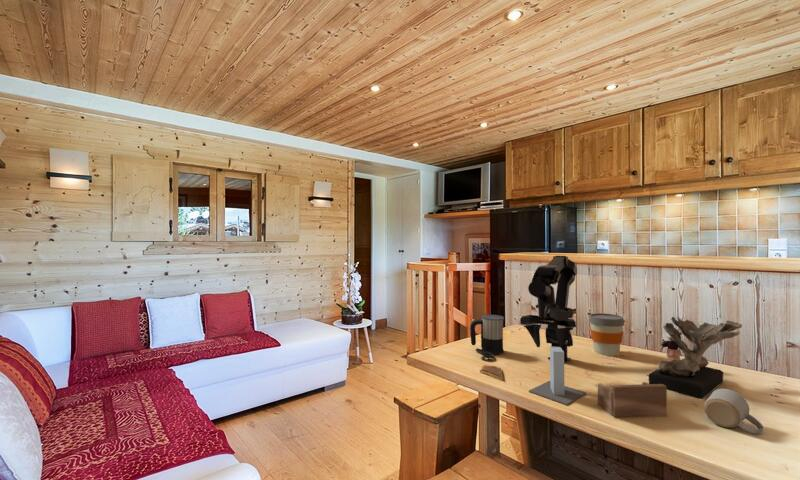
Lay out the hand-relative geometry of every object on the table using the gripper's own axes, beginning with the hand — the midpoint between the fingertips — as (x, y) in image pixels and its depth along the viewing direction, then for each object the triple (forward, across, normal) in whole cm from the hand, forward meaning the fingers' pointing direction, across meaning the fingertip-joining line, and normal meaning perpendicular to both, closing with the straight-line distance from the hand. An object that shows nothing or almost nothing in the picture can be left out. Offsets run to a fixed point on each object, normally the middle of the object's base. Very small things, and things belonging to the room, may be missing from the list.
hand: (550, 348), depth 122 cm
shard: (+10, -13, +14) cm, 21 cm away
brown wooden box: (+16, +8, -21) cm, 28 cm away
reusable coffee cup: (-1, +42, +18) cm, 45 cm away
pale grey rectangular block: (+13, -4, -6) cm, 15 cm away
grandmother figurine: (+3, +52, -1) cm, 52 cm away
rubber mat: (+14, -4, -6) cm, 15 cm away
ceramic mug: (+18, +25, -35) cm, 47 cm away
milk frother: (+2, -4, +32) cm, 32 cm away
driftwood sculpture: (+10, +43, -16) cm, 47 cm away
